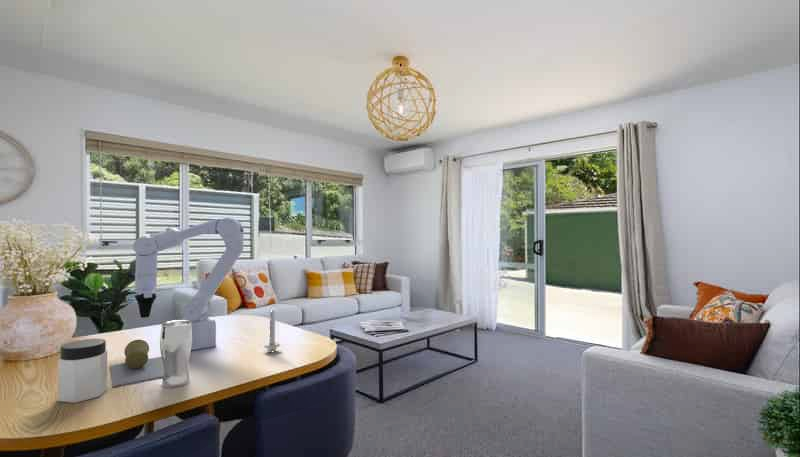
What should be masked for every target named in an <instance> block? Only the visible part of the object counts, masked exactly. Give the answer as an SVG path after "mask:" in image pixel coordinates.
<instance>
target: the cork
mask: <svg viewBox="0 0 800 457" xmlns="http://www.w3.org/2000/svg"><path fill="white" fill-rule="evenodd" d="M148 343H149V342H147V341H146V340H143V339H135V340H132V341H129V343H128V344H127V345H126V346H125V348H124V356H125V359H124V361H125V362H124V363H126V365H127V366H128V367H129V368H132V369H138V368H141V367H142V366H144V365H145V364H146V363H147V361H148V359H149V355H148V353H149V352H150V346H149V344H148Z"/></svg>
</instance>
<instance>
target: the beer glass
mask: <svg viewBox="0 0 800 457" xmlns="http://www.w3.org/2000/svg"><path fill="white" fill-rule="evenodd" d="M191 346H192V327H191V321H188V320H183V319H180V320H179V319H178V320H170V321H166V322H163V323H162V324H161V326H160V336H159V349H160V357H162V361H163V367H164V376H163V378H162V381H161V386H162V387H163V388H167V389H170V388H171V389H173V388H178V387H183V386H185V385H187V384H189V383H190V379H191V378H190V373H189V362H190V356H191V351H192V350H191Z"/></svg>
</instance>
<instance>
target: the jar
mask: <svg viewBox="0 0 800 457" xmlns="http://www.w3.org/2000/svg"><path fill="white" fill-rule="evenodd" d="M106 343H107V341H106V339H103V338H85V339H78V340H74V341H70V342H66V343H64V344H62V345H61V346H60V350H59V351H60V354H59V355H60V357H59V359H58V360H57V401H58V402H59V403H60V402H62V403H72V404H77V403H79V402H80V403H81V402H84V401H88V400H92V399H95V398H100V397H101V395H102V394H104V392H105V391H106V390H107V389H108V349H106V348H107V344H106Z"/></svg>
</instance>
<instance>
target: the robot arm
mask: <svg viewBox="0 0 800 457" xmlns="http://www.w3.org/2000/svg"><path fill="white" fill-rule="evenodd" d="M244 233H245V230H244V228H243V225H242V223H241V221H240V220H238V219H236V218H233V217H232V218H231V217H223V218H220V219H219V218H218V219H212V220H208V221H205V222H203V223H199V224H197V225H194V226H190V227H188V228H184V229H182V230H181V229H180V230H179V229H177V228H176V227H175V228H172V227H167V228H165V231H161V232H158V233H155V232H152V233H150V234H149V236H141V237H138V238H137V239H136V240H134V242H133V244H132V248H133V251H134V252H135V275H134V278H135V279H134V288H130V292H131V293H132V292H133V293H134V292H135V293H140V294H135V295H134V298H135V299H136V302H137V305H138V310H139V315H140V318H141V319H144V318H149V317H150V315H151V311H152V307H153V305H154V301H155V300H156V298H157V294H156V293H155V292H156V291H158V287H157V277H158V276H157V274H158V252H161V251H166V250H169V249H172V248H175V247H179V246H181V245H182V244H183V242H184V241H185V240H187V239H191V238H195V237H198V236H203V235H205V234H213V235H214V234H215V235H216V234H217V235H219V236H220V238H222V240H223V242H224V245H225V250H224V252H223V253H222V255H221V256H220V257H219V259H218V261H217V262H216V263H215V265H214V266H213V268H212V269H211V271H210V273H209V274H208V275H207V278H206V279H205V280H204V282H202V285H201V286H200V288H199V289H198V290H197V292H195V294H194V295H193V296H192V298H191V299H190V300H189V301H188V302H185V303H184V304H183V305H182V307H181V310H180V314H181V316H182V318H183V319H182V320H188V321H191V327H192V346H191V351H195V350H201V349H205V348H207V349H208V348H212V347H216V346H217V324H216V323H217V322H216V319H215V317H209V316H208V314H207V312H208V311H209V309H210V303H211V301H212V300H213V297H214V295H215V294H216V292H217V291H218V289H219V288H220V286H221V284H222V283H223V281H225V279H226V277H227V275H228V274H229V272H230V271H231V269H232V268H233V266H234V265H235V264H236V262H237V260H238V259H239V257H240V255H241V254H242V253H243V251H244Z"/></svg>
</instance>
